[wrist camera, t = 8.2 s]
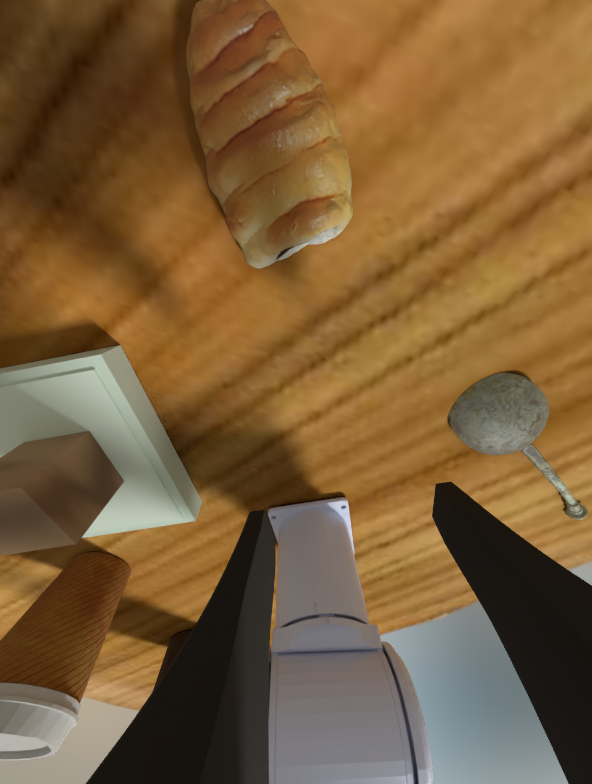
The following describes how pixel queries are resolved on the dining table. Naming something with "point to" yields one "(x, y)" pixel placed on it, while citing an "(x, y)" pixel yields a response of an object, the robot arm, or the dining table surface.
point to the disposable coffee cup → (56, 655)
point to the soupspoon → (508, 424)
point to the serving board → (102, 432)
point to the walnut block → (53, 491)
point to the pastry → (265, 131)
